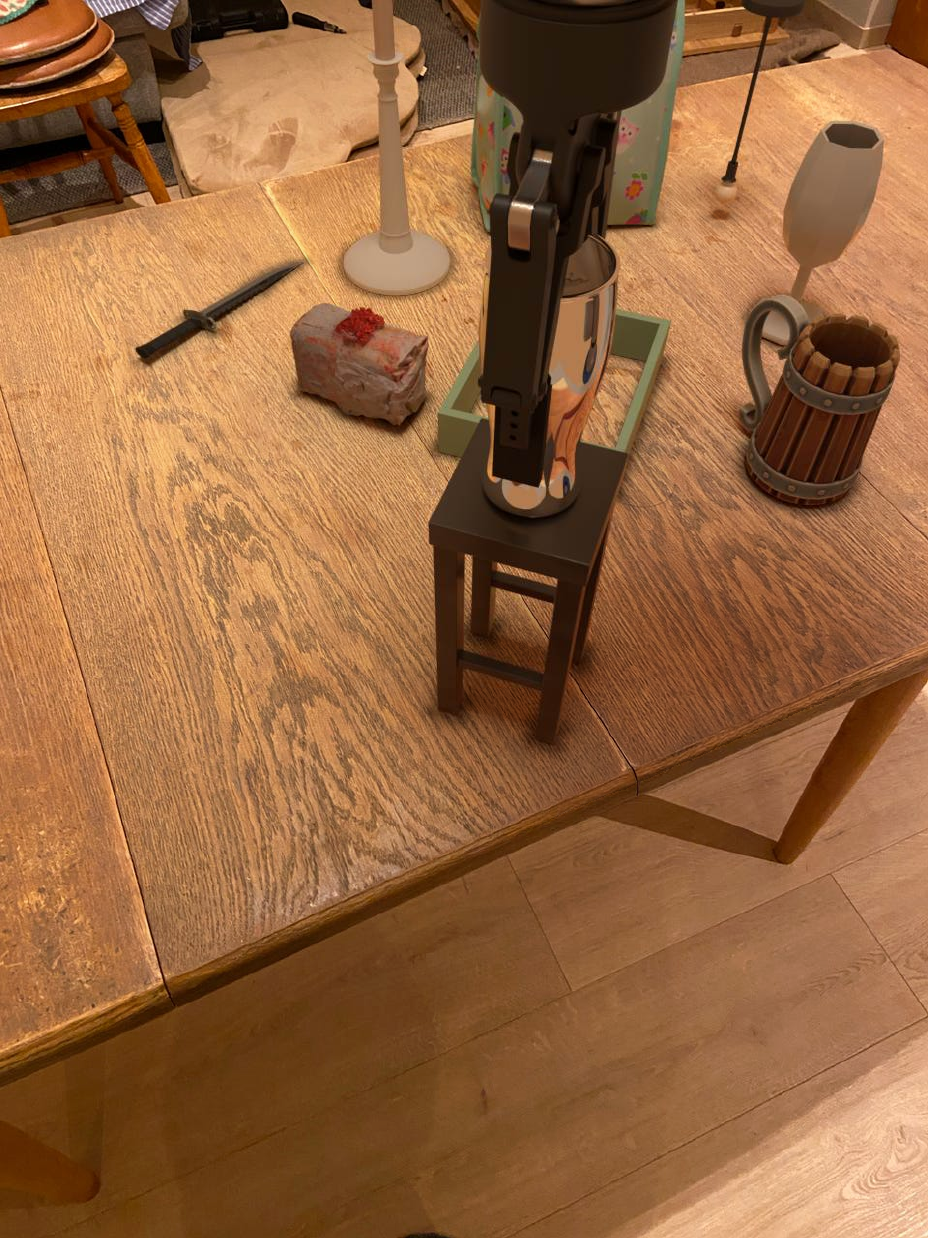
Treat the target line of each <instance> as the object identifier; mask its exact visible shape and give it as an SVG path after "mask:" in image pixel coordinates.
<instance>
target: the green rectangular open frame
mask: <svg viewBox="0 0 928 1238" xmlns="http://www.w3.org/2000/svg"><path fill="white" fill-rule="evenodd" d="M671 323H672V320H670V319H667V318H661V317H656V316H652V315H647V314H642V313H639V312H632V311H629V310H624V309H619V308H616V318H615V326H614V333H613V341H612V346H611V351H610V355H615V356H620V357H624V358H628V359H633V360H638V361H641V362H642V361H643V362H645V363H644V366H643V370H642V373H641V375H640V378H639V381H638V384H637V386H636V389H635V392H634V394H633V397H632V400H631V403H630V406H629V408H628V410H627V413H626V417H625V419H624V421H623V425H622V427H621V430H620V433H619V436H618V438H617V441H616V444H615V447H612V446H606V445H603V444H599V443H595V442H591V441H587V440H582V439H581V442H583V443H588V444H592V445H596V446H600V447H604V448H608V449H613V450H617V451H621V452H625V453H628V458H629V457H630V455H631V451H632V449H633V447H634V443H635V440H636V437H637V434H638V431H639V429H640V426H641V422H642V419H643V417H644V414H645V411H646V408H647V406H648V403H649V399H650V397H651V394H652V391H653V388H654V385H655V382H656V379H657V376H658V373H659V370H660V368H661V365H662V362H663V359H664V354H665V350H666V346H667V342H668V341H667V340H668V336H669V332H670V328H671ZM480 376H481V370H480V361H479V338H478V339H477V341H476V342H475V345H474V346H473V348H472V350H471V351H470V354H469V355H468V357H467V359H466V360H465V362H464V364H463V366H462V368H461V370H460V371H459V373H458V375H457V377H456V378H455V381H454V382H453V384H452V386H451V388H450V390H449V392H448V393H447V395H446V397H445V399H444V401H443V402H442V404H441V406H440V408H439V410H438V411H437V445H438V446H437V447H438V449H437V450H438V452H439V453H442V454H446V455H450V456H454V457H457V458H461V457H462V455H463V453H464V451H465V449H466V447H467V445H468V443H469V441H470V439H471V437H472V435H473V433H474V431H475V429H476V427H477V425H478V423H479V421H480V420H481V418H484V419H488V420H489V417H487V416H483V415H479V414H475V413H474V414H473V413H471V410H472V408H473V406H474V404H475V403H476V401H477V399H478V397H479V395H480V394H481V388H480V387H478V378H480Z"/></svg>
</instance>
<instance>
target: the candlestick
mask: <svg viewBox="0 0 928 1238" xmlns="http://www.w3.org/2000/svg"><path fill="white" fill-rule="evenodd" d="M371 7H372V8H371V10H372V23H373V24H372V25H373V26H372V27H373V39H374V51H371V52H369V54H367V60H368V61H369V63H371V64H372V65H373V66H372V67H373V71H372V74H373V77H374V78H375V79H376V80H377V85H378V87H379V91H378V93H377V96H376V98H377V107H378V108H377V111H378V112H377V113H378V159H379V161H378V163H379V164H378V165H379V169H378V170H379V230H377V231H374V232H371V233H369V234H366V235H364V236H362V237H361V238H359V239H357V240H356V241H355V242H354V243H353V244H351V246H349V248H348V249H347V250H346V252H345V253H344V257H343V269H344V274H345V275H346V277H347V279H349V281H350V282H351V283H353V284H354V285H355V286H356V287H358V288H360V289H362V290H364V291H366V292H370V293H373V294H376V295H377V294H378V295H383V296H407V295H414V294H418V293H420V292H424V291H428V290H429V289H432V288H433V287H435V286H437V285H438V284H440V283H441V282H442V281H443V280H444V279H445V278H446V277H447V276H448V274H449V272H450V269H451V257H450V254H449V251H448V249H447V248H446V247H445V245H443V243H442V242H440V241H439V240H438V239H436V238H435V237H433V236H431V235H429V234H427V233H425V232H421V231H419V230H414V229H411V225H410V215H409V207H408V196H407V186H406V185H407V184H406V175H405V174H406V173H405V164H404V163H405V162H404V154H403V145H402V134H401V133H402V132H401V123H400V114H399V113H400V112H399V102H398V99H399V98H398V97H399V94H398V93H397V92H396V88H395V87H396V83H397V80H396V79H398V78H399V76H400V68H399V64H400V62H402V61H403V59H404V54H403V53H402V52H400V51H399V50H396V46H395V45H396V43H395V30H394V29H395V26H394V25H395V24H394V23H395V22H394V5H393V0H371Z"/></svg>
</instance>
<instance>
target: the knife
mask: <svg viewBox="0 0 928 1238" xmlns="http://www.w3.org/2000/svg"><path fill="white" fill-rule="evenodd" d="M302 263H304V261H298V262H294V263H289V264H286V265H282V266H279V267H276V268H274V269H272V270H270V271H268V272H266V273H264V274H262V275H260V276H259V277H257V278H255V279H253V280H251V281H250V282H248V283H246V284H245V285H243V286H241V287H239V288H238V289H236V290H234V291H232V292H231V293H228V295H225V296H224V297H222V298H220V299H219V300H217V301H216V302H214V303H212V304H210V305H208V306H206V307H205V308H204V309H201V310H199V311H198V310H194V309H183V310H182V313H183V316H184V318H186V320H184V321H182V322H180V323H179V324H177V325H175V326H174V327H172V328H169V330H167V331H165V332H163V333H161V334H160V335H158V336H156V337H154V338H152V339H151V340H150V341H148V342H146V343H143V344H142V345H140V346H136V347H135V349H134V350H135V353H136V354H137V355H138V356H139V357H141V359H145V360H148V359H150V358H151V356H153V355H155V353H157V352H159V351H161V350H162V349H164V348H165V347H167V346H170V345H171V344H172V343H174V342H176V341H177V340H179V339H181V338H182V337H184V336H186V335H187V334H189V333H191V332H193V331H195V330H196V329H197V328H198V327H201V328H203V329H204V330H206V331H208V330H210V331H215V330H216V329H217V322H215V320H214V319H215V318H217V317H219V316H220V315H221V314H224V313H226V311H229V310H231V309H232V308H234V307H236V306H237V305H238V304H241V303H243V301H246V300H248V299H249V298H251V297H253V296H254V294H258V293H260V291H263V290H264V289H266V288H267V287H268V286H270V285H271V284H273V283H274V282H276V281H277V280H279V279H280V278H282V277H284V276H285V275H286V274H288V273H290V272H291V271H292V270H294V269H295V268H297V267H298V266H299V265H301V264H302ZM209 322H211V323H212V326H213V327H212V326H211V325H210V323H209Z"/></svg>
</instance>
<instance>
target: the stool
mask: <svg viewBox="0 0 928 1238" xmlns="http://www.w3.org/2000/svg"><path fill="white" fill-rule="evenodd" d="M489 445H490V424H489V420H488V419H484V418H481V420H480V421H479V423H478V425H477V427H476V429H475V431H474V433H473V435H472V437H471V439H470V441H469V443H468V445H467V447H466V449H465V451H464V453H463V455H462V457H460V459H459V461H458V463H457V465H456V467H455V469H454V470H453V473H452V475H451V477H450V479H449V481H448V483H447V485H446V486H445V489H444V490H443V492H442V495H441V497H440V499H439V501H438V503H437V505H436V506H435V509H434V510H433V513H432V514H431V516H430V518H429V520H428V522H427V524H428V528H427V529H428V544H429V545H431V546H432V553H433V554H432V555H433V557H432V558H433V589H434V590H433V591H434V623H435V624H434V625H435V656H436V657H435V658H436V659H435V661H436V693H437V695H436V696H437V710H438V711H442V712H445V713H448V714H452V715H455V716H456V715H458V712H459V710H460V708H461V705H462V702H463V699H464V670H466V671H469V672H473V673H477V674H480V675H484V676H487V677H490V678H494V679H497V680H500V681H504V682H507V683H511V684H514V685H518V686H521V687H524V688H528V689H531V690H534V691H537V692H540V696H539V702H538V709H537V714H536V715H537V716H536V723H535V728H534V729H535V730H534V737H533V739H534V740H536V741H539V742H542V743H546V744H549V745H554V744H555V742H556V739H557V736H558V733H559V730H560V725H561V720H562V714H563V710H564V704H565V699H566V694H567V689H568V683H569V678H570V672H571V667H572V663H574V664H578V665H580V664H581V662H582V660H583V657H584V654H585V650H586V647H587V642H588V638H589V631H590V627H591V622H592V617H593V612H594V607H595V602H596V597H597V593H598V588H599V584H600V579H601V574H602V568H603V565H604V564H603V563H604V559H605V554H606V549H607V544H608V540H609V535H610V530H611V526H612V521H613V515H614V510H615V506H616V501H617V499H618V496H619V492H620V489H621V486H622V483H623V480H624V477H625V473H626V470H627V464H628V460H629V457H628V453H625V452H621V451H617V450H613V449H608V448H604V447H600V446H596V445H592V444H588V443H583V442H581V443H580V451H579V459H580V470H581V487H580V491H579V493H578V496H577V497H576V499H575V500H574V502H573V503H572V504H571V505H570V506H568V507H567V508H566V509H564V510H562V511H560V512H558V513H556V514H553V515H549V516H544V517H523V516H518V515H514V514H511V513H509V512H506V511H504V510H502V509H501V508H499V507H498V506H496V505H495V504H494V503H493V502H492V501H491V500H490V499H489V498H488V497H487V495H486V493H485V491H484V489H483V485H482V472H483V467H484V464H485V460H486V457H487V453H488V450H489ZM466 555H467V556H471V558H472V559H471V595H470V597H471V598H470V599H471V600H470V633H471V634H475V635H477V636H481V637H485V638H489V637H490V634H491V631H492V630H493V627H494V625H495V612H496V611H495V610H496V597H497V589H499V590H503V591H506V592H509V593H513V594H517V595H519V596H524V597H527V598H531V599H534V600H538V601H542V602H546V603H549V604H553V607H552V613H551V621H550V628H549V635H548V641H547V648H546V655H545V662H544V669H543V672H541V671H538V670H534V669H530V668H527V667H523V666H520V665H517V664H514V663H510V662H507V661H504V660H500V659H496V658H493V657H490V656H488V655H483V654H479V653H476V652H473V651H470V650H466V649H464V647H465V646H464V645H465V644H464V643H465V587H466V586H465V583H466V582H465V580H466V579H465V576H466ZM499 564H501V565H504V566H508V567H511V568H515V569H518V570H523V571H527V572H530V573H534V574H537V575H541V576H545V577H549V578H552V579H556V586H555V585H551V584H547V583H544V582H541V581H536V580H533V579H530V578H525V577H522V576H518V575H514V574H511V573H507V572H504V571H500V570H498V565H499Z"/></svg>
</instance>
